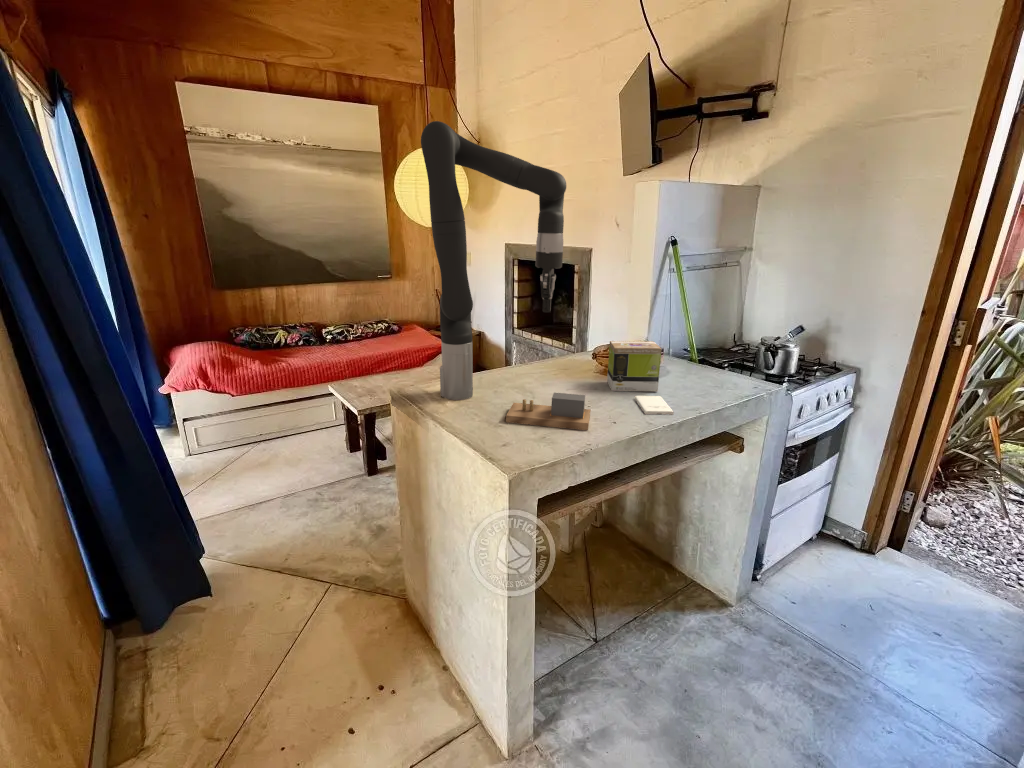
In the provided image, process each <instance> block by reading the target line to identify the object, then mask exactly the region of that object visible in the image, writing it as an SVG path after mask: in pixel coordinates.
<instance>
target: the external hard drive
mask: <svg viewBox="0 0 1024 768" xmlns="http://www.w3.org/2000/svg"><path fill="white" fill-rule="evenodd" d="M635 400H636V401H637V402H636V401H635ZM634 401H635V402H636V403H637V405H638V404H639V405H638V406H639V408H640V407H641V408H640V409H641V410H642V412H643V411H644V412H643V413H644V414H645V415H662V414H663V415H664V416H665V415H666V414H669V415H671V416H674V414H675V412H674V411H673V409H672V408H671V407H670V405H668V403H667V402H666V401H665V400H664V398H663V397H662V396H660V395H635V396H634Z"/></svg>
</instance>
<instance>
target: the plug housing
mask: <svg viewBox="0 0 1024 768" xmlns="http://www.w3.org/2000/svg"><path fill="white" fill-rule="evenodd" d="M585 404H586V394H577V393H576V394H575V393H565V392H553V394H552V397H551V405H550V406H551V416H562V417H573V418H583V416H584V409H585V407H586V405H585Z"/></svg>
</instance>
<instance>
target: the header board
mask: <svg viewBox="0 0 1024 768" xmlns="http://www.w3.org/2000/svg"><path fill="white" fill-rule="evenodd" d="M551 406H552V405H547V404H546V405H544V404H534V400H533V399H530V400H529V403H527V399H522V403H521V402H513V403H512V405H511V406H510V408H509V410H508V412H507V413H506V417H505V418H506V419H505V423H510V424H511V423H512V424H520V425H521V424H522V425H528V424H530V425H531V426H539V427H550V428H560V429H572V430H578V431H579V430H580V431H589V426H590V420H591V409H587V408H584V416H583V418H573V417H562V416H551ZM530 425H529V426H530Z"/></svg>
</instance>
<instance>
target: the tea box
mask: <svg viewBox="0 0 1024 768" xmlns="http://www.w3.org/2000/svg"><path fill="white" fill-rule="evenodd" d="M608 348H609V349H608V361H607V362H608V364H607V375H606V377H607V378H606V379H607V383H608V386H609V388H610V387H611V388H610V390H611V391H612V392H653V393H654V392H658V390H659V381H660V380H659V378H660V371H661V369H660V368H661V361H662V359H661V358H662V348H661V347H660V346H659V345H658V344H657V343H656V342H655V341H653V340H650V341H649V340H648V341H647V340H646V341H645V340H643V341H642V340H641V341H639V340H636V341H635V340H610V341H609V347H608Z"/></svg>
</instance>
